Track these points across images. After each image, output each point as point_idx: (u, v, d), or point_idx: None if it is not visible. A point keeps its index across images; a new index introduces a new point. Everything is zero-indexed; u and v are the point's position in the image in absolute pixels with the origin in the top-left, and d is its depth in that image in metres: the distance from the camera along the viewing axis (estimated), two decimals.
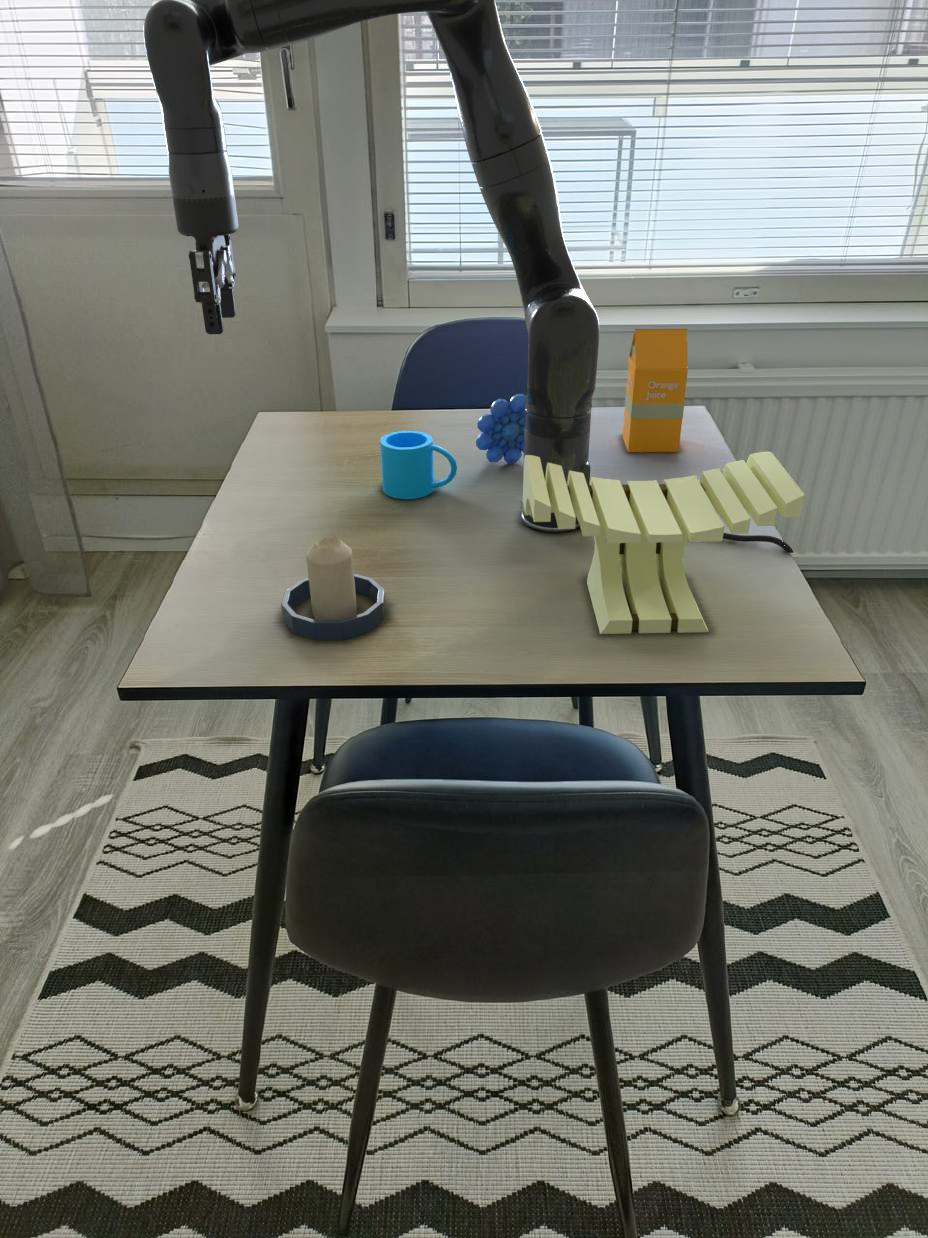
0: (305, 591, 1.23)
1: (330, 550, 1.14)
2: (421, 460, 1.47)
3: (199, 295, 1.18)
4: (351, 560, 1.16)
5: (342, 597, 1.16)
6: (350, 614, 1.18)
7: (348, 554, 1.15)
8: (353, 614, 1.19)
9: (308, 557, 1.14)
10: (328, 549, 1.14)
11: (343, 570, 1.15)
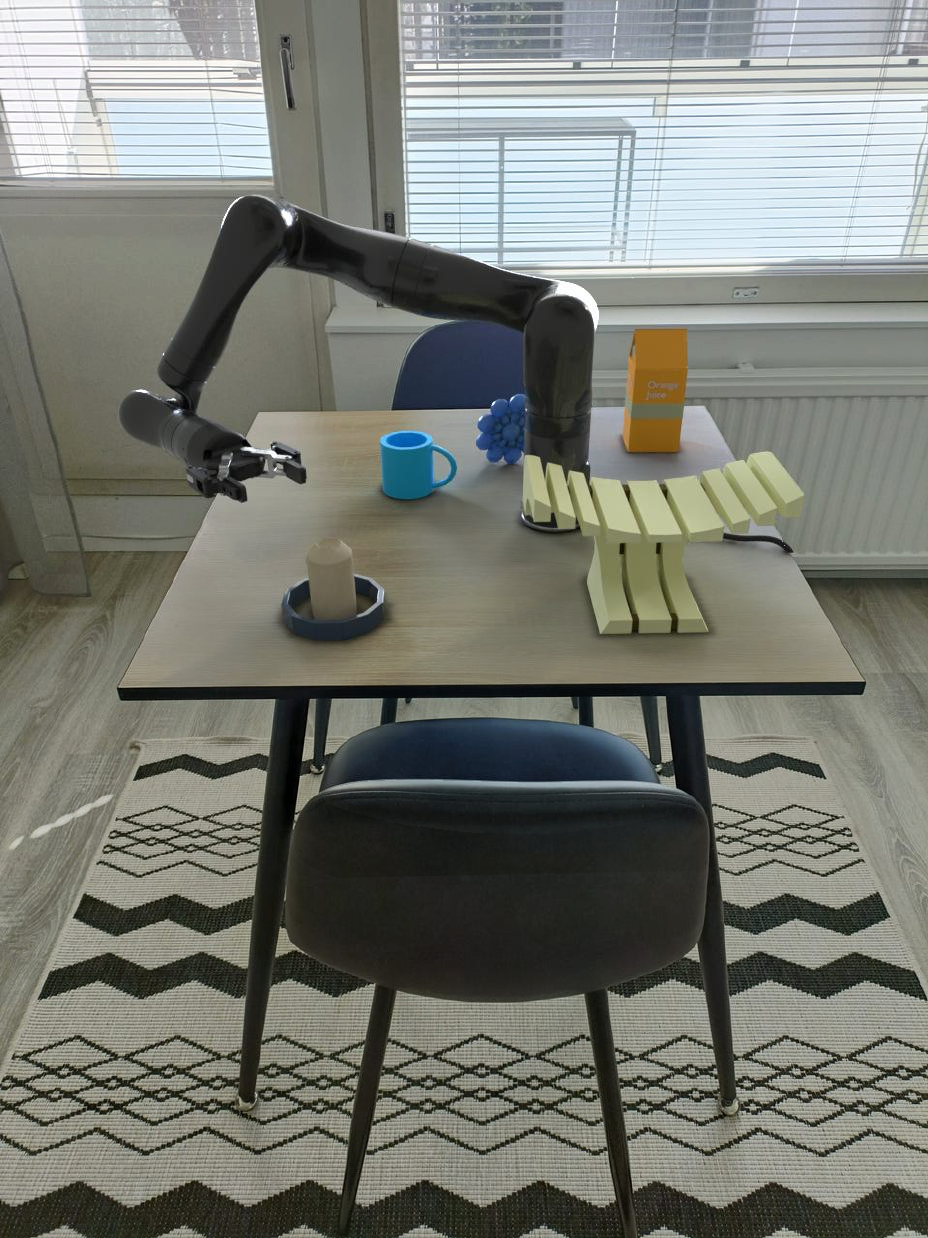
0: (305, 591, 1.23)
1: (330, 550, 1.14)
2: (421, 460, 1.47)
3: (203, 492, 1.20)
4: (351, 560, 1.16)
5: (342, 597, 1.16)
6: (350, 614, 1.18)
7: (347, 554, 1.15)
8: (353, 614, 1.19)
9: (308, 557, 1.14)
10: (328, 549, 1.14)
11: (343, 570, 1.15)
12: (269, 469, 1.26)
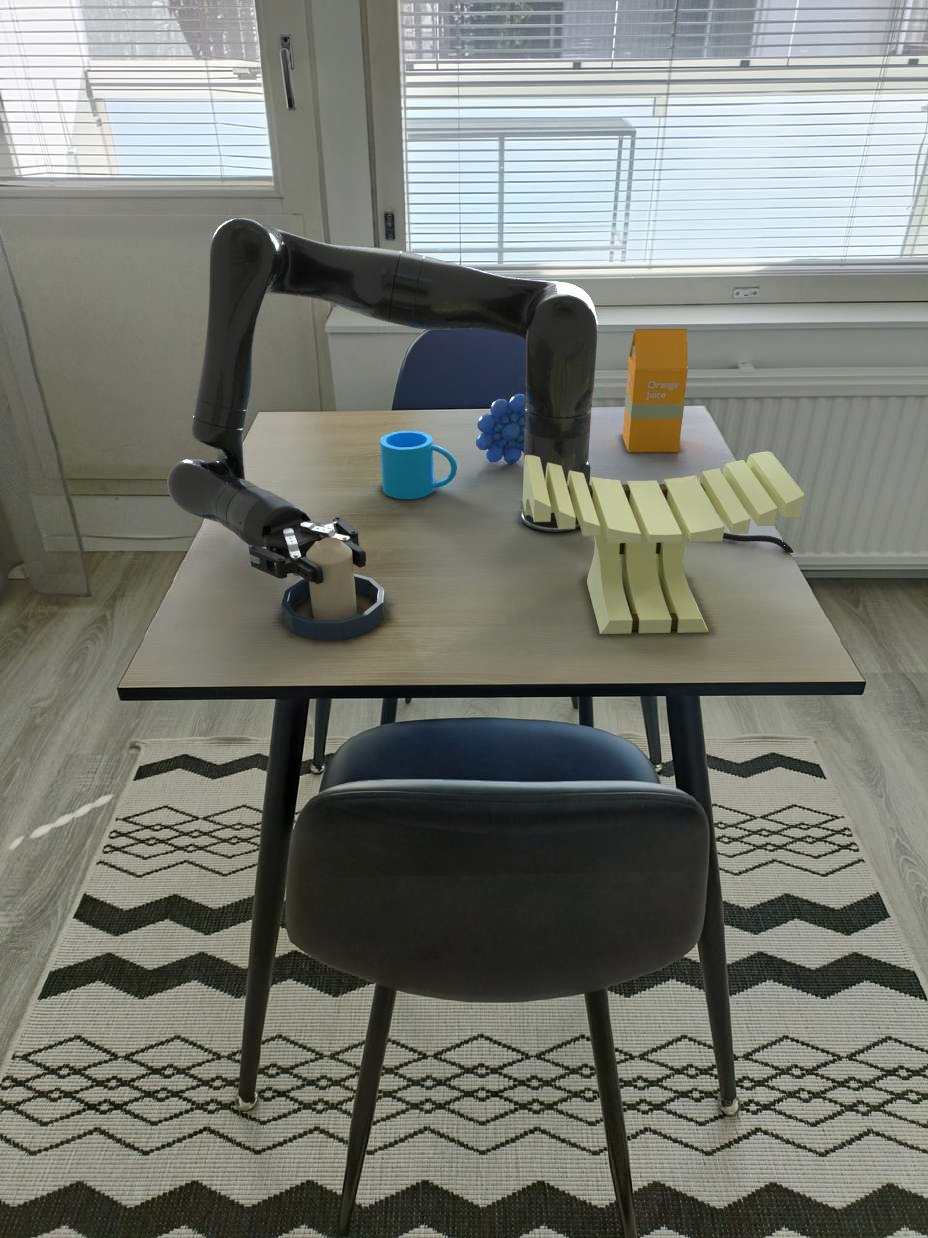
0: (305, 591, 1.23)
1: (330, 550, 1.14)
2: (421, 460, 1.47)
3: (276, 572, 1.15)
4: (351, 560, 1.16)
5: (342, 597, 1.16)
6: (350, 614, 1.18)
7: (347, 554, 1.15)
8: (353, 614, 1.19)
9: (308, 557, 1.14)
10: (328, 549, 1.14)
11: (343, 571, 1.15)
12: None
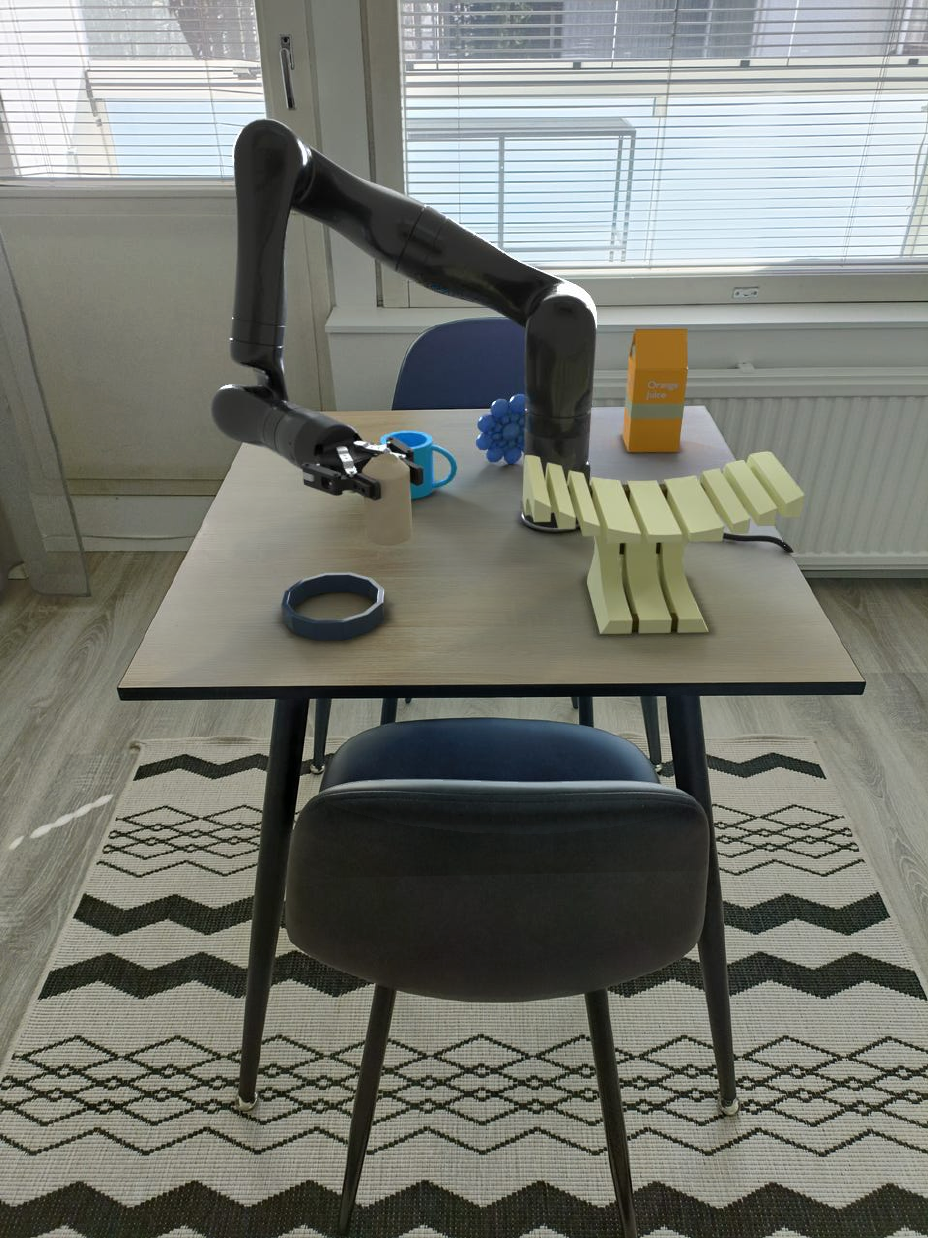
0: (305, 591, 1.23)
1: (388, 465, 1.09)
2: (421, 460, 1.47)
3: (331, 489, 1.11)
4: (409, 477, 1.11)
5: (399, 516, 1.12)
6: (406, 535, 1.14)
7: (405, 470, 1.10)
8: (409, 535, 1.15)
9: (364, 473, 1.10)
10: (386, 464, 1.09)
11: (401, 487, 1.10)
12: None
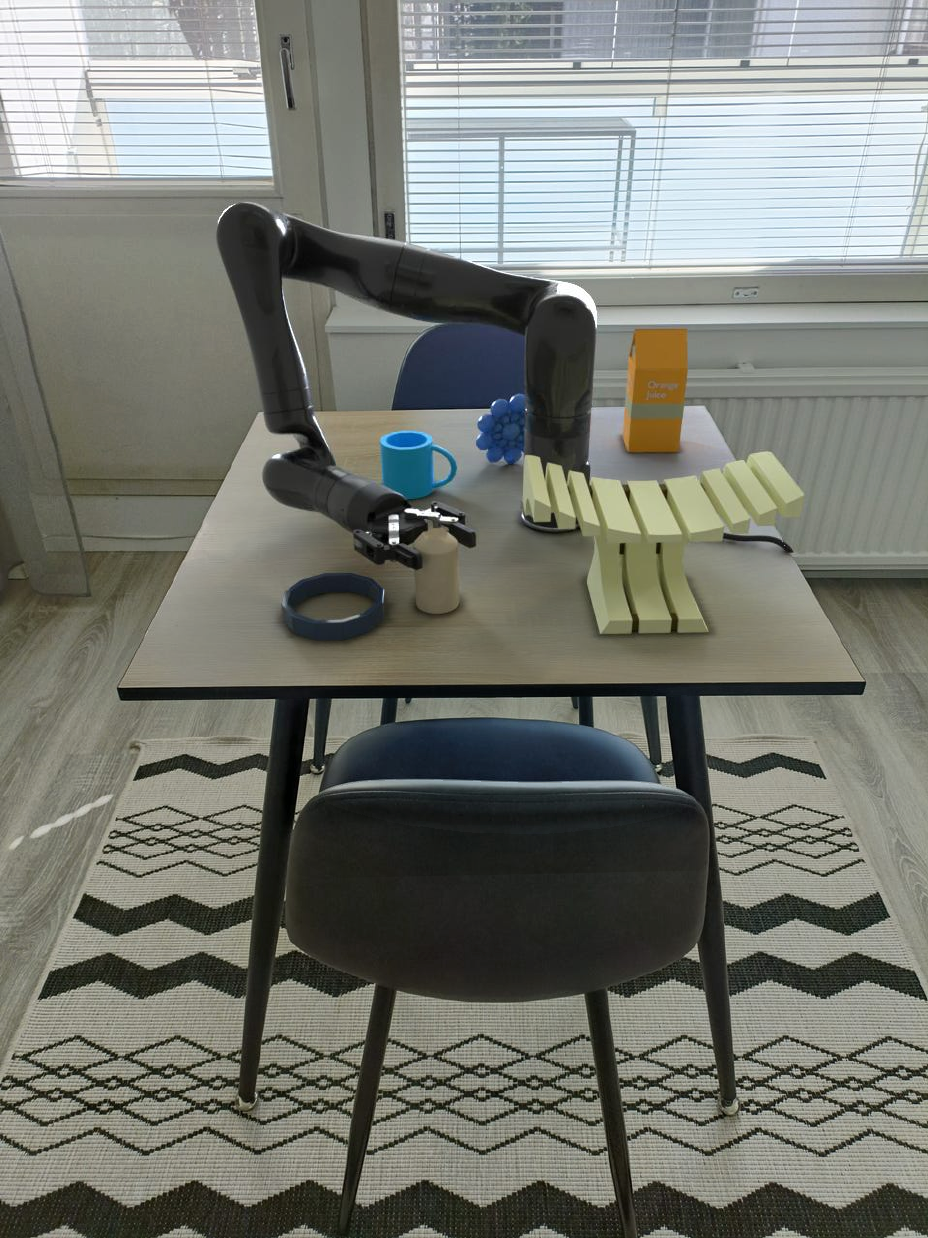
0: (305, 591, 1.23)
1: (438, 540, 1.16)
2: (421, 460, 1.47)
3: (374, 558, 1.16)
4: (457, 550, 1.17)
5: (448, 587, 1.18)
6: (454, 604, 1.20)
7: (455, 544, 1.17)
8: (456, 604, 1.21)
9: (416, 547, 1.16)
10: (436, 539, 1.15)
11: (451, 560, 1.16)
12: None
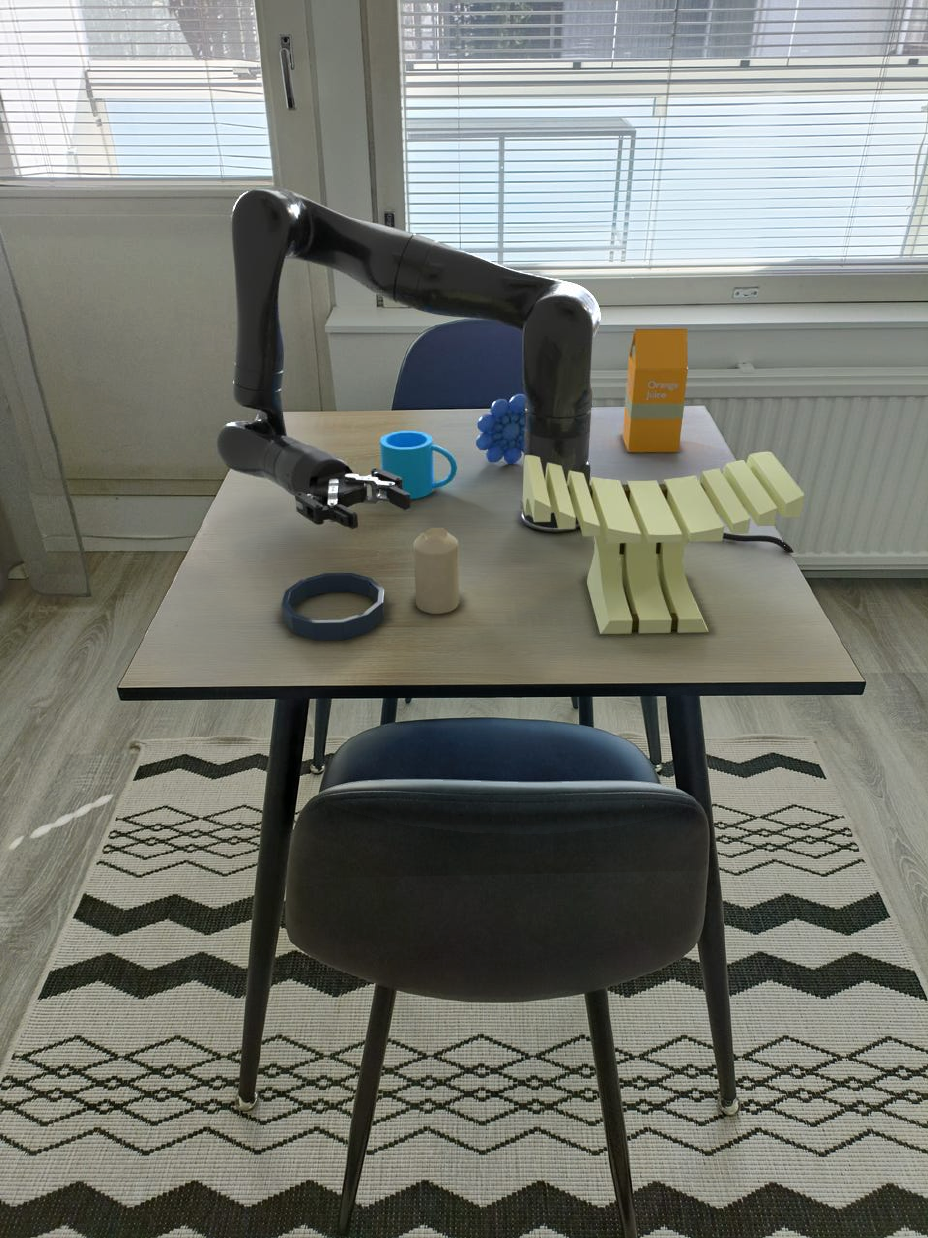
0: (305, 591, 1.23)
1: (438, 540, 1.16)
2: (421, 460, 1.47)
3: (314, 518, 1.24)
4: (457, 550, 1.17)
5: (448, 587, 1.18)
6: (454, 604, 1.20)
7: (455, 544, 1.17)
8: (456, 604, 1.21)
9: (416, 547, 1.16)
10: (436, 539, 1.16)
11: (451, 560, 1.16)
12: (372, 495, 1.30)
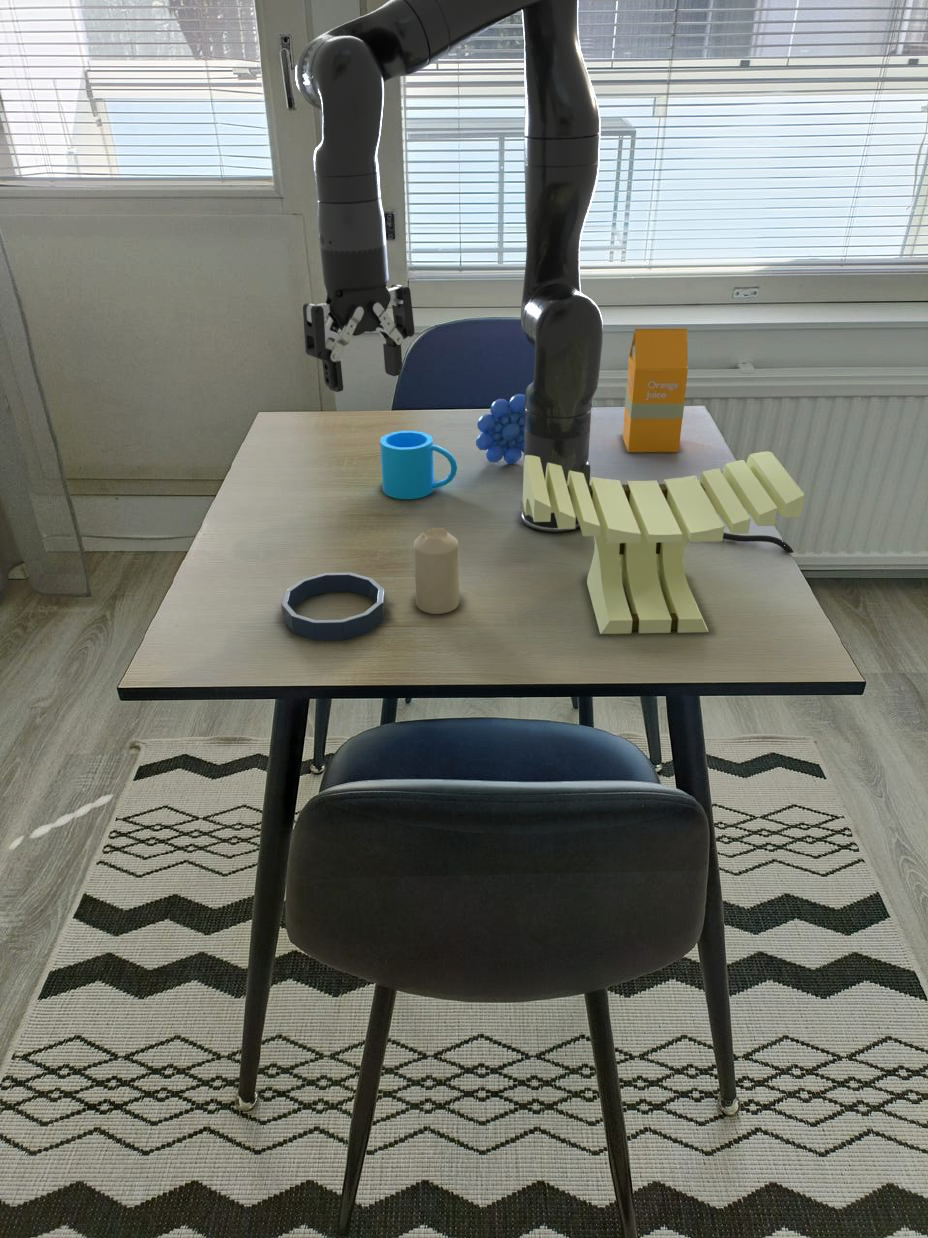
0: (305, 591, 1.23)
1: (438, 540, 1.16)
2: (421, 460, 1.47)
3: (308, 349, 1.11)
4: (457, 550, 1.17)
5: (448, 587, 1.18)
6: (454, 604, 1.20)
7: (455, 544, 1.17)
8: (456, 604, 1.21)
9: (416, 547, 1.16)
10: (436, 539, 1.16)
11: (451, 560, 1.16)
12: (377, 327, 1.16)
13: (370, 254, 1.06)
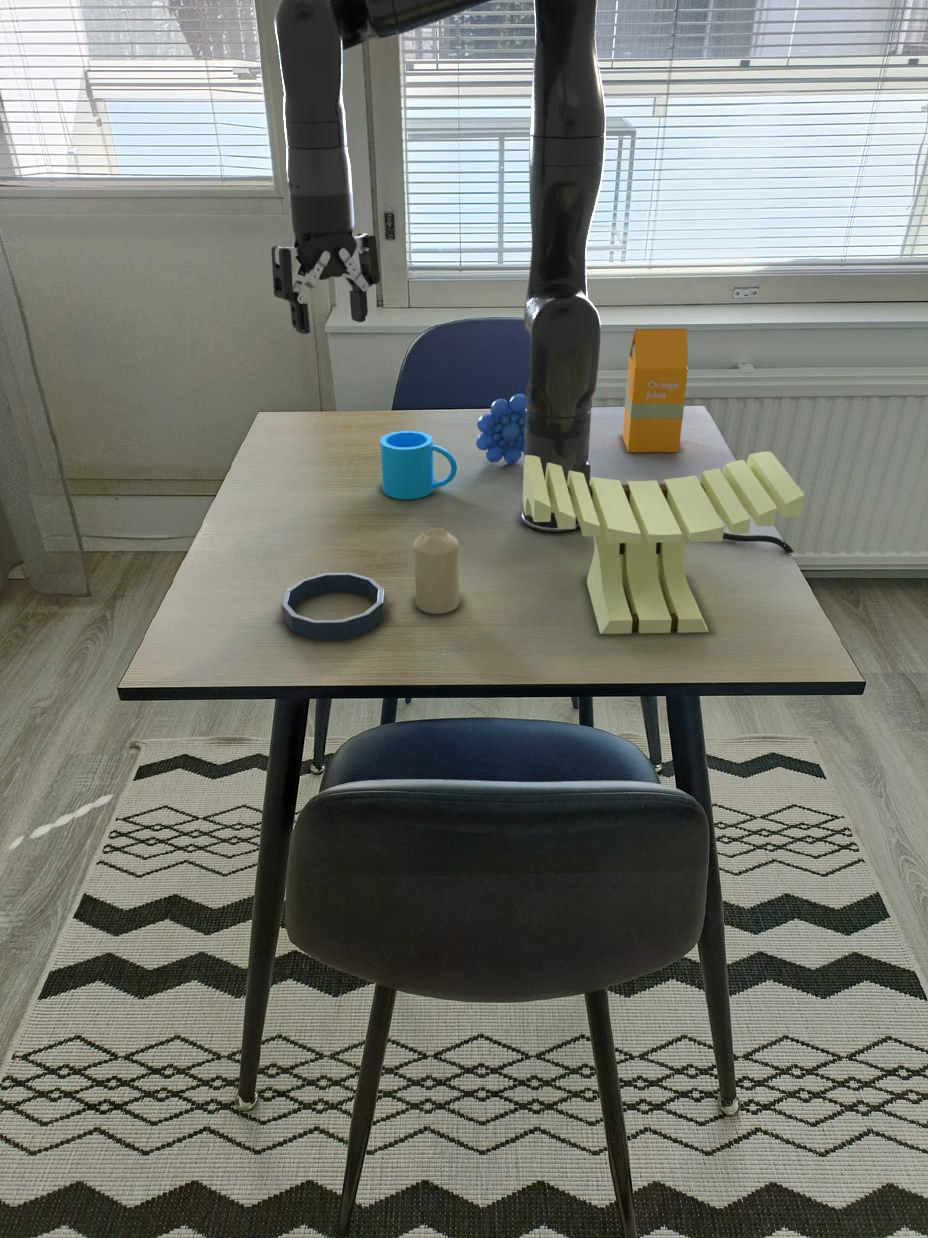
0: (305, 591, 1.23)
1: (438, 540, 1.16)
2: (421, 460, 1.47)
3: (276, 291, 1.16)
4: (457, 550, 1.17)
5: (448, 587, 1.18)
6: (454, 604, 1.20)
7: (455, 544, 1.17)
8: (456, 604, 1.21)
9: (416, 547, 1.16)
10: (436, 539, 1.16)
11: (451, 560, 1.16)
12: (343, 274, 1.21)
13: (336, 199, 1.12)
